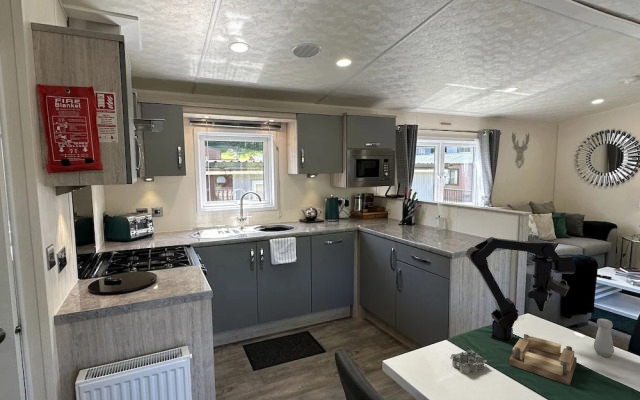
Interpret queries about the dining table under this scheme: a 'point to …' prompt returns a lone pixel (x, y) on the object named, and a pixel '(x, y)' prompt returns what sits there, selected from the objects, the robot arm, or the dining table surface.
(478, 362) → the grey jagged rock
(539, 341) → the hinged leg
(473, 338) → the dining table surface
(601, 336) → the salt shaker
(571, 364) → the wooden slat frame
